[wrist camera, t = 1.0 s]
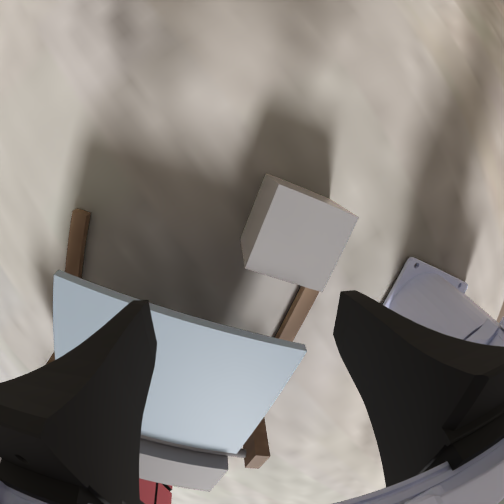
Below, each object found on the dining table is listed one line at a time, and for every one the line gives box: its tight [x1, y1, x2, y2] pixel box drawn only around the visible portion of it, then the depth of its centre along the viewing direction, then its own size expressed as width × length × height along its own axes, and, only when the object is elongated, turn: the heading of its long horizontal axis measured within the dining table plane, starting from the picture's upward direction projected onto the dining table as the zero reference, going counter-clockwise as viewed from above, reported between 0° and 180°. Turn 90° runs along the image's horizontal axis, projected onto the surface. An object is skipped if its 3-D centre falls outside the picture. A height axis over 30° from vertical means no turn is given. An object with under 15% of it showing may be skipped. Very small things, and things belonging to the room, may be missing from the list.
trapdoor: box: [53, 270, 307, 492], centre depth 17 cm, size 16×18×3 cm
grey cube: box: [240, 173, 359, 292], centre depth 18 cm, size 5×5×5 cm
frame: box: [46, 208, 319, 469], centre depth 19 cm, size 19×14×8 cm
